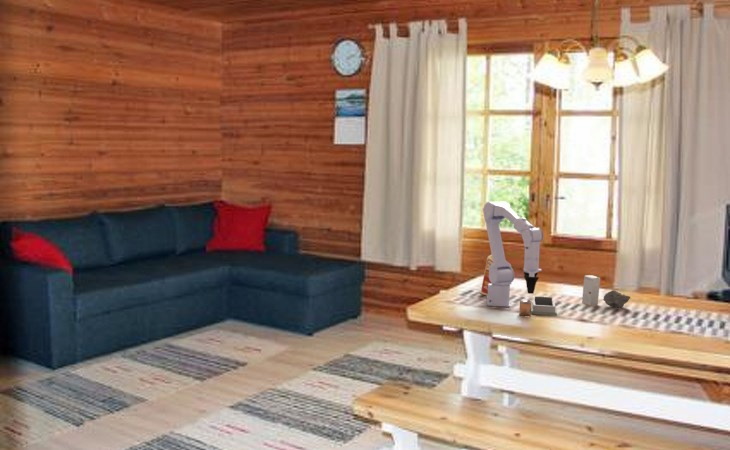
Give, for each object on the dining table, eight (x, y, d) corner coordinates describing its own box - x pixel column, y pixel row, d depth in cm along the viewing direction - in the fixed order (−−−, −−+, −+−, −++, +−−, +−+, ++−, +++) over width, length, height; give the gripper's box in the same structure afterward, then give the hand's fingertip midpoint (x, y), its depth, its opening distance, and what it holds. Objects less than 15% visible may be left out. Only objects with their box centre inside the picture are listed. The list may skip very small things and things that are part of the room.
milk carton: (480, 293, 323) (481, 250, 320) (497, 291, 327) (498, 249, 324) (491, 297, 315) (493, 253, 312) (508, 295, 318) (510, 252, 316)
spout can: (519, 316, 281) (519, 300, 280) (518, 313, 286) (519, 297, 285) (531, 317, 280) (532, 301, 279) (531, 314, 285) (531, 298, 284)
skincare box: (581, 302, 307) (583, 275, 305) (590, 302, 308) (591, 274, 307) (590, 305, 301) (591, 278, 300) (599, 305, 302) (600, 277, 301)
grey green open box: (531, 313, 285) (531, 301, 285) (530, 307, 296) (531, 295, 296) (556, 315, 283) (557, 303, 283) (555, 309, 294) (555, 297, 294)
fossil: (631, 307, 299) (633, 289, 298) (628, 312, 291) (629, 293, 290) (604, 304, 304) (605, 286, 303) (600, 308, 297) (601, 289, 296)
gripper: (543, 261, 274) (541, 295, 275) (541, 255, 288) (539, 288, 289) (524, 260, 275) (522, 294, 276) (523, 254, 289) (521, 287, 291)
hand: (530, 291), depth 283 cm, fingers open, 7 cm apart
